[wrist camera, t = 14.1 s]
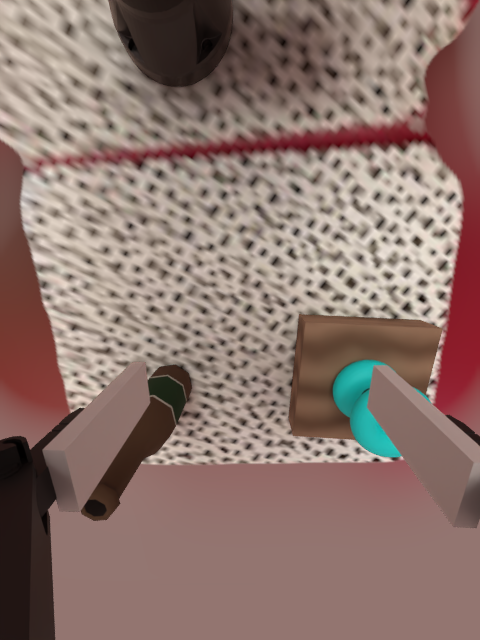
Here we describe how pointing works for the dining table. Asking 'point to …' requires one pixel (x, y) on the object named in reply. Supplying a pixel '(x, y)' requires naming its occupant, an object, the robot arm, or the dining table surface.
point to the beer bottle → (142, 439)
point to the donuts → (362, 407)
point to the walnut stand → (344, 349)
